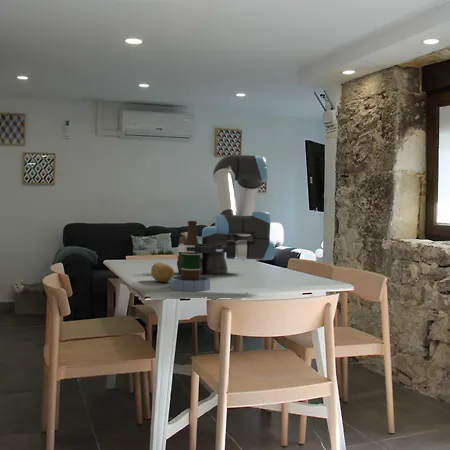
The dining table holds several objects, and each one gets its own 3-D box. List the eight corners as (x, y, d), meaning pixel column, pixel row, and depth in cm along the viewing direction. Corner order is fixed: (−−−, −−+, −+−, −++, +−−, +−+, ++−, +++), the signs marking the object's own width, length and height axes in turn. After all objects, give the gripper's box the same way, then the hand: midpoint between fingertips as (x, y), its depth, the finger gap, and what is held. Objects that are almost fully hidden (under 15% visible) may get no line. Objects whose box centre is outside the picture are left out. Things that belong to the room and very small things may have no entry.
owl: (176, 274, 272) (178, 232, 271) (174, 271, 284) (175, 231, 283) (203, 275, 274) (204, 233, 273) (199, 271, 287) (200, 231, 286)
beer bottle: (182, 281, 227) (183, 221, 226) (179, 278, 235) (181, 220, 234) (201, 281, 229) (203, 221, 228) (198, 278, 236) (200, 220, 236)
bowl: (172, 284, 240) (172, 274, 240) (210, 285, 240) (211, 276, 240) (168, 290, 224) (168, 280, 224) (209, 291, 224) (209, 281, 224)
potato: (157, 284, 238) (157, 265, 238) (146, 280, 250) (147, 262, 250) (179, 284, 242) (179, 265, 242) (167, 279, 255) (168, 261, 254)
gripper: (235, 261, 221) (176, 259, 221) (235, 256, 241) (181, 254, 242) (236, 242, 221) (177, 240, 221) (236, 238, 241) (181, 237, 241)
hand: (179, 247), depth 231 cm, fingers closed on beer bottle, 7 cm apart
